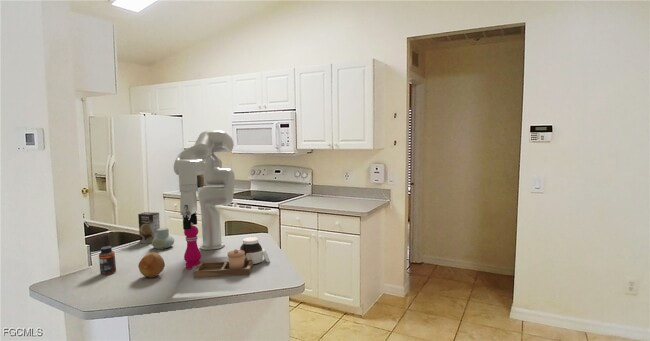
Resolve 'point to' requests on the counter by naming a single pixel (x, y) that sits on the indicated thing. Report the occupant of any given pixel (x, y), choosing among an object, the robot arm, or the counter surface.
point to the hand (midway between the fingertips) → (190, 226)
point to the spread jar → (253, 250)
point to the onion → (151, 265)
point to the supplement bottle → (107, 261)
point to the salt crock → (236, 259)
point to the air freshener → (163, 239)
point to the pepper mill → (192, 247)
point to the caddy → (221, 269)
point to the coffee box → (148, 226)
